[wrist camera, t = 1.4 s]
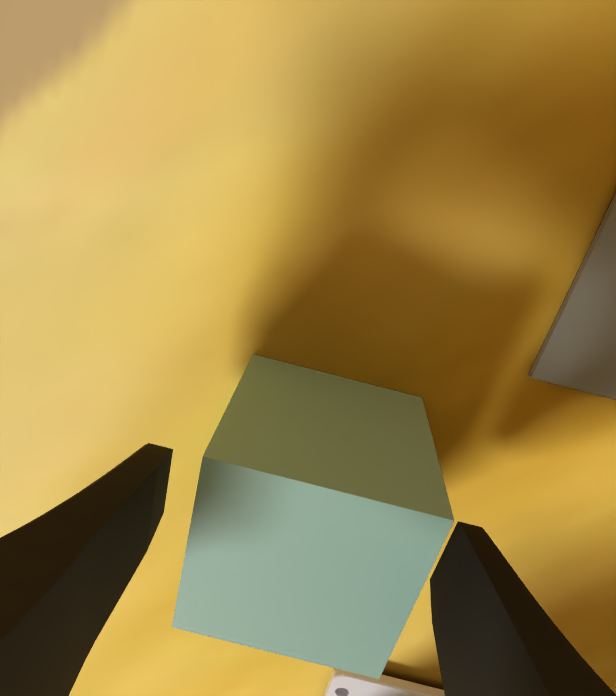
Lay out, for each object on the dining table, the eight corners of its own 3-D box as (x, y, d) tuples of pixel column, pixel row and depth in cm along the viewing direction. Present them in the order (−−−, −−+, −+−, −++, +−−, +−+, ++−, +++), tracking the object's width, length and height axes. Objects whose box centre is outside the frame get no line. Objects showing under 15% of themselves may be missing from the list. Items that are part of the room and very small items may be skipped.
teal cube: (372, 524, 16) (378, 679, 11) (225, 487, 16) (171, 627, 11) (421, 396, 14) (454, 520, 9) (254, 352, 14) (202, 456, 9)
